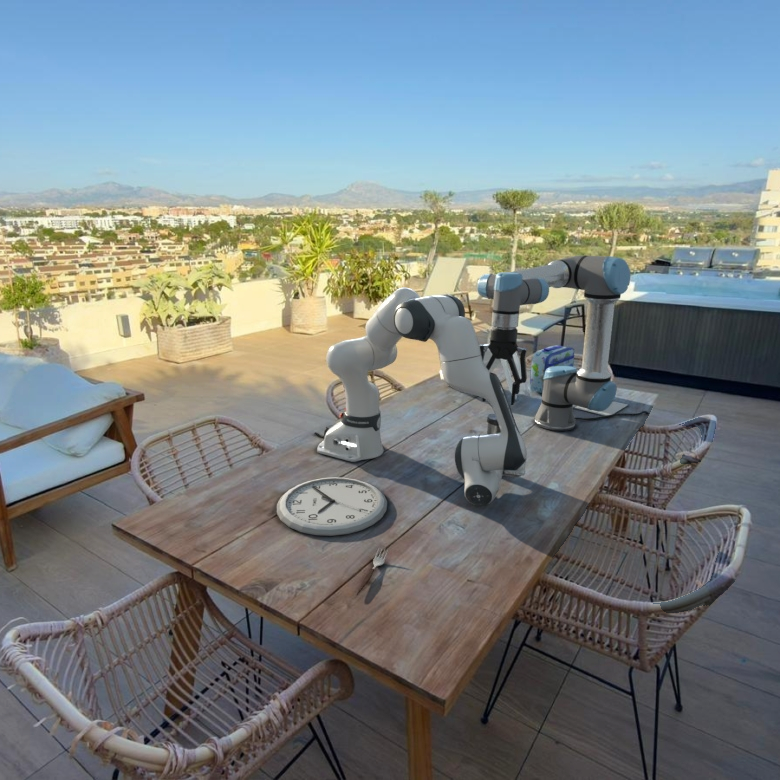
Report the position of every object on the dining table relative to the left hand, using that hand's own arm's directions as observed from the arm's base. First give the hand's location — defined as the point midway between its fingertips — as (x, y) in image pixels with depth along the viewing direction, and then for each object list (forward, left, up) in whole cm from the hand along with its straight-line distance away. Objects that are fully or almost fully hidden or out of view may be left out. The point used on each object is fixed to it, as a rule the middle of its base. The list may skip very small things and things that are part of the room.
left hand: (493, 452), depth 162 cm
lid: (0, 0, +11) cm, 11 cm away
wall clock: (-38, -36, -7) cm, 53 cm away
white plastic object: (-17, +81, -7) cm, 83 cm away
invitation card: (+36, +80, -7) cm, 88 cm away
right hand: (0, 0, +16) cm, 16 cm away
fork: (-18, -61, -7) cm, 64 cm away
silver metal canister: (0, 0, -7) cm, 7 cm away
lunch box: (+14, +97, -7) cm, 98 cm away
